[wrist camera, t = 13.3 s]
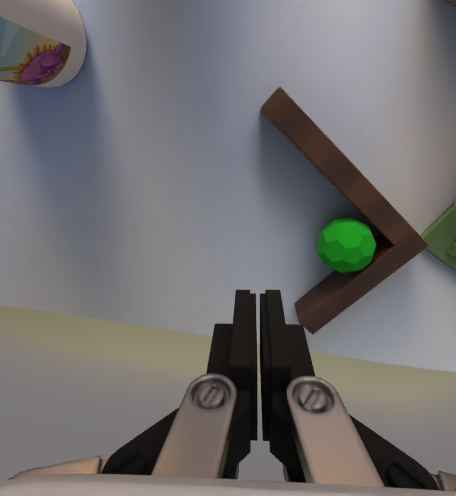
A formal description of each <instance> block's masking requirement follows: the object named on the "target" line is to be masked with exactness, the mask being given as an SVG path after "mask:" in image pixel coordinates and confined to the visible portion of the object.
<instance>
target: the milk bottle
mask: <svg viewBox="0 0 456 496" xmlns="http://www.w3.org/2000/svg"><path fill="white" fill-rule="evenodd" d="M86 48H87V46H86V34H85V28H84V25H83V22H82V19H81V16H80V14H79V12H78V10H77V8H76V6H75V5H74V3H73V2H72V0H0V81H5V82H11V83H17V84H24V85H30V86H36V87H46V88H53V87H59V86H62V85H64V84H66V83H68V82H69V81H71V80H72V79H73V78H74V77H75V76H76V75H77V74H78V72H79V70H80V69H81V67H82V65H83V62H84V59H85V55H86Z"/></svg>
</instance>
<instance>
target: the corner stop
mask: <svg viewBox="0 0 456 496" xmlns="http://www.w3.org/2000/svg"><path fill="white" fill-rule="evenodd" d="M260 111H261V112H262V113H263V114H264V115H265V116H266V117H267V118H268V119H269V120H270V121H271V122H272V123H273V124H274V125H275V126H276V127H277V128H278V129H279V130H280V131H281V132H282V133H283V134H284V135H285V136H286V137H287V138H288V139H289V140H290V142H291V143H292V144H293V145H294V146H295V147H296V148H297V149H298V150H299V151H300V152H301V153H302V154H303V155H304V156H305V157H306V158H307V159H308V160H309V161H310V162H311V163H312V164H313V165H314V166H315V167H316V168H317V169H318V170H319V171H320V172H321V173H322V174H323V175H324V176H325V177H326V178H327V179H328V181H329V182H330V183H331V184H332V185H333V186H334V187H335V188H336V189H337V190H338V191H339V192H340V193H341V194H342V195H343V196H344V197H345V198H346V199H347V200H348V201H349V202H350V203H351V204H352V205H353V206H354V207H355V208H356V209H357V210H358V211H359V212H360V213H361V214H362V215H363V216H364V217H365V218H366V220H367V221H368V222H369V223H370V224H371V225H372V226H373V227H374V228H375V229H376V230H377V231H378V232H379V234H378V235H377V236H376V237H374V240H375V242H376V248H375V251H374V255H373V257H372V260H371V262H370V263H369V264H368V265H367V266H365V267H364V268H363V269H362V270H357V271H351V272H344V273H341V272H339V271H337V270H334V271H333V272H332V273H331V274H330V275H328V276H327V277H326V278H325V279H323V280H322V281H321V282H320V283H319V284H317V285H316V286H315V287H314V288H313V289H311V290H310V291H309V292H308V293H307V294H305V295H304V296H303V297H302V298H300V299H299V300H298V301H297V302H296V303H295V307H296V312H297V316H298V321H299V323H300V324H301V325H303V326H304V327H305V328H306V329H307V330H308V331H309V332H311V333H312V334H314V333H315V332H316V331H318V330H319V329H320V328H322V327H323V326H324V325H325V324H327V323H328V322H329V321H331V320H332V319H333V318H335V317H336V316H337V315H339V314H340V313H341V312H343V311H344V310H345V309H346V308H348V307H349V306H350V305H352V304H353V303H354V302H356V301H357V300H358V299H360V298H361V297H362V296H363V295H365V294H366V293H367V292H369V291H370V290H371V289H373V288H374V287H375V286H377V285H378V284H379V283H380V282H382V281H383V280H384V279H386V278H387V277H388V276H390V275H391V274H392V273H394V272H395V271H396V270H398V269H399V268H400V267H401V266H403V265H404V264H405V263H407V262H408V261H409V260H411V259H412V258H413V257H415V256H416V255H417V254H418V253H420V252H421V251H422V250H424V249H425V248H426V247H428V246H429V245H428V244H427V243H426V242H425V241H424V240H423V238H422V237H421V236H420V235H419V234H418V233H417V232H416V231H415V230H414V229H413V228H412V227H411V226H410V225H409V224H408V222H407V221H406V220H405V219H404V218H403V217H402V216H401V215H400V214H399V213H398V212H397V211H396V210H395V209H394V208H393V206H392V205H391V204H390V203H389V202H388V201H387V200H386V199H385V198H384V197H383V196H382V195H381V194H380V193H379V192H378V191H377V189H376V188H375V187H374V186H373V185H372V184H371V183H370V182H369V181H368V180H367V179H366V178H365V177H364V176H363V175H362V173H361V172H360V171H359V170H358V169H357V168H356V167H355V166H354V165H353V164H352V163H351V162H350V161H349V160H348V159H347V157H346V156H345V155H344V154H343V153H342V152H341V151H340V150H339V149H338V148H337V147H336V146H335V145H334V144H333V143H332V141H331V140H330V139H329V138H328V137H327V136H326V135H325V134H324V133H323V132H322V131H321V130H320V129H319V128H318V127H317V125H316V124H315V123H314V122H313V121H312V120H311V119H310V118H309V117H308V116H307V115H306V114H305V113H304V112H303V111H302V109H301V108H300V107H299V106H298V105H297V104H296V103H295V102H294V101H293V100H292V99H291V98H290V97H289V96H288V95H287V94H286V92H285V91H284V90H283V89H282V88H281V87H278V88H277V90H276V91H275V92H274V93H273V94H272V95H271V96H270V98H269V99H268V100H267V101H266V102H265V103H264V105H263V106H262V107H261V108H260Z"/></svg>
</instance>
